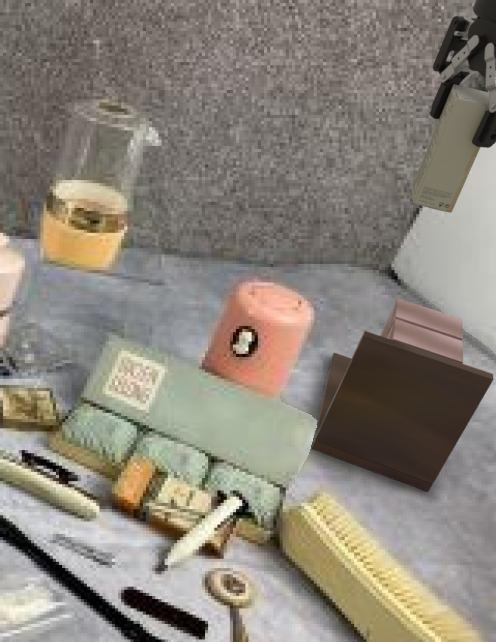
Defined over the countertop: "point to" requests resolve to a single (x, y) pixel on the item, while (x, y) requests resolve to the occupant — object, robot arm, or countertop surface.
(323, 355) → the countertop surface
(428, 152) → the cosmetic box
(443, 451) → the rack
